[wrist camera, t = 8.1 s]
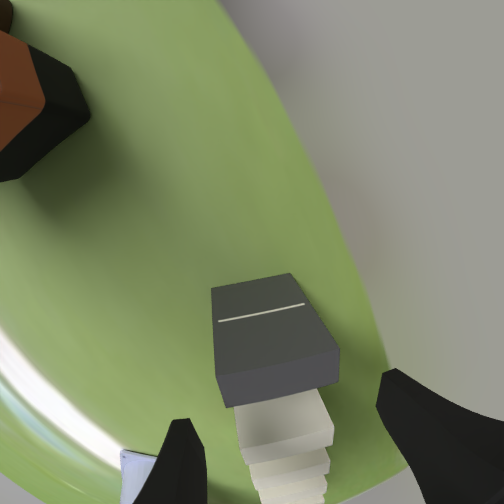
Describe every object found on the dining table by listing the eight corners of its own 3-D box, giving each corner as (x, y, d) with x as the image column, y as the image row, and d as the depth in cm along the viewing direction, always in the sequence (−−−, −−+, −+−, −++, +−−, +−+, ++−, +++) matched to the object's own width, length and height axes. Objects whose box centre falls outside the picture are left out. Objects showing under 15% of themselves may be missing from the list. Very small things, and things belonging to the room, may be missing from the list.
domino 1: (211, 288, 18) (215, 376, 11) (289, 272, 18) (340, 348, 11) (217, 315, 19) (226, 408, 11) (292, 300, 19) (338, 381, 12)
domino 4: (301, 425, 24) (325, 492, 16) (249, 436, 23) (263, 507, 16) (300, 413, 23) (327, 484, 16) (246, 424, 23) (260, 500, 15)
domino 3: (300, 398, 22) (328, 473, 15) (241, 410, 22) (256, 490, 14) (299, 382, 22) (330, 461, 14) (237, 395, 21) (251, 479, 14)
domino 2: (297, 363, 21) (332, 445, 13) (232, 377, 21) (245, 465, 13) (296, 343, 20) (334, 426, 13) (227, 357, 20) (239, 448, 12)
